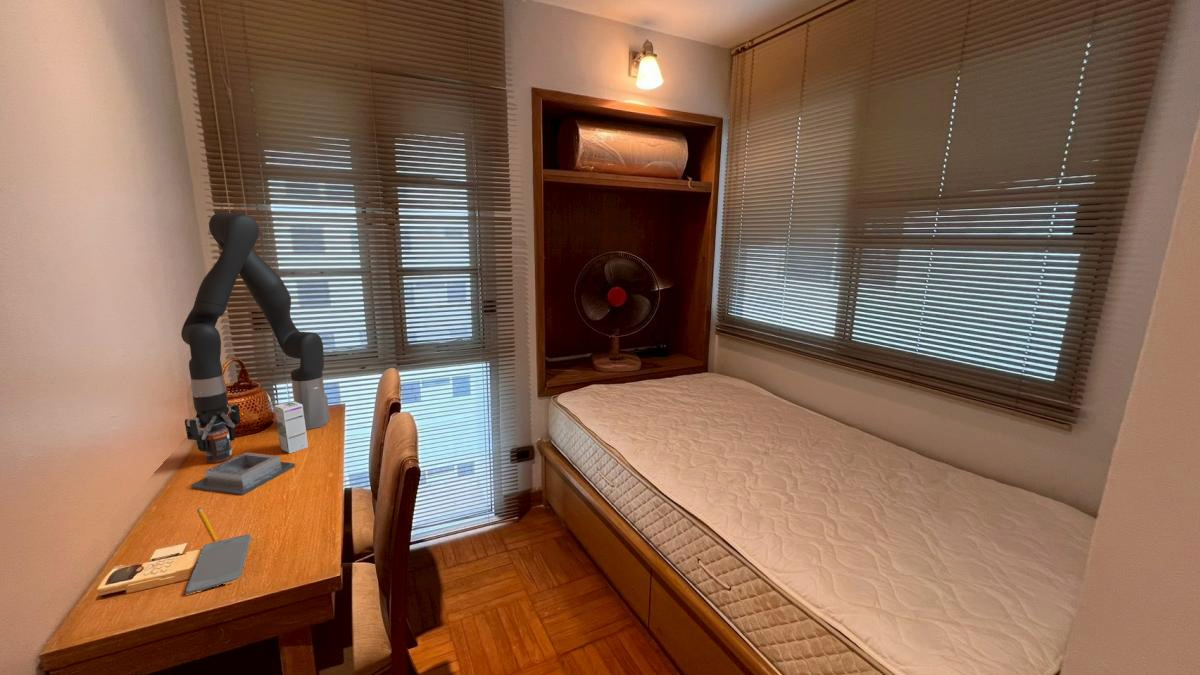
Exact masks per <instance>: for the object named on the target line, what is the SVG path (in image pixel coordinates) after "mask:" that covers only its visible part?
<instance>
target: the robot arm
mask: <svg viewBox="0 0 1200 675" xmlns="http://www.w3.org/2000/svg"><path fill="white" fill-rule="evenodd" d="M208 227H209V231H210V234H211V236H212V238H213V239H214V241H215V242H216V243H217V245H218V246H220V248H221V250H222V251H221V253H220V255H219V257H218V259H217V260H216V262H215V263H214V265H213V266H212V267H211V268H210V269H209V271H208V273H207V274H206V275H205V277H204V278H203V279H202V281H201V283H200V285H199V287H198V291H197V294H196V296H195V300H194V303H193V306H192V308H191V310H190V312H189V313H188V315H187V317H186V319H185V321H184V323H183V325H182V328H181V334H180V336H181V339H182V341H183V342H184V343H185V344H186V345H189V349H190V350H189V352H190V359H189V361H188V368H189V376H190V389H191V395H192V402H193V406H194V411H195V412H196V416H195V417H193V418H191V419H190V418H187V419H184V426H185V431H186V432H185V433H186V436H187V440H191V441H196V445H197V450H198V451H200V452H203V453H205V452H206V451H208V450H209V449H208V443H207V439H205V438H206V436H207V434H208V432H210V430H211V428H212V426H213V425H215V424H218V423H220V422H223V425H224V427H225V428H227V429H228V431H229V436H230V442H233V441H235V438H236V431H235V428H236V426H237V425H239V424H241V421H242V420H241V415H240V406H239V405H238V404H229V400H228V393H227V386H226V380H225V378H224V375H223V374H224V373H223V367H222V363H221V355H222V354H221V352H222V339H221V335H220V332H219V330H218V328H216V325H217V323H218V321H219V320H218V319H219V318H220V317H222V316H223V315H224V314H225V312H226V310H227V307H228V304H229V300H230V298H231V295H232V292H233V289H234V286H235V283H236V281H237V279H238V276H240V278H241V279H242V281H243V283H244V285H245V286H246V287H247V290H248V291H249V293H250V294H251V296H252V299H254V301H255V303H256V304H257V306H258V308H259V309H260V310H261V312H262V314H263V315H264V317H265V320H266V321H267V322H268V324H269V326H270V328H271V330H272V331H273V334H274V336H275V338H276V340H277V343H278V345H279V347H280V349H281V351H282V352H283V354H284V355H286V356H287V357H289V358H290V359H291V358H292V359H297V360H298V359H299V360H300V362H299V363H300V364H299V367H298V368H295V369H292V370H291V371H290V380H291V387H292V388H291V389H292V396H293V401H294V402H297V403H300V404H302V405H303V413H304V420H305V427H306V430H313V429H318V428H320V427H324V426H326V425H327V424H328V422H330V420H331V419H330V412H329V402H328V396H327V395H326V394H325V393H326V392H325V385H324V378H323V371H324V367H325V358H324V344H323V340H322V338H321V336H320V335H319V334H318V333H317V332H313V331H312V332H310V331H300V330H298V328H297V326H296V325H295V324H294V322H293V320H292V318H291V308H292V306H291V305H292V297H291V294H290V292H289V290H288V288H287V286H286V285H285V283H284V281H283V280H282V278H281V277H280V275H279V274H278V273H277V272H276V271H275V270H274V269H273V268H272V267H271V266H270V265H269V264H268V263H267V262H266V261H265V260H264V259H263V258H262V257H261V256H260V255H259V254H258V253H257V251H256V250H255V248H254V247H255V245H256V242H257V241H258V239H259V236H260V227H259V224H258V222H257V220H255V219H254V218H253V217H252V216H250V215H248V214H244V213H237V212H229V211H228V212H227V211H222V212H216V213H215V214H213V215H212V216H211V217H210V218H209V221H208ZM228 414H229V415H228Z"/></svg>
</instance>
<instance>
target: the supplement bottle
mask: <svg viewBox="0 0 1200 675" xmlns="http://www.w3.org/2000/svg"><path fill="white" fill-rule="evenodd" d="M205 439H207V443H208V449H209V450H208V451H206V452H204V453H205V458H206V462H207V463H208V464H217V463H224V462H226V461H228V460H230V459H232V457H233V451H232V444H231V441H230V436H229V431H228V429H227V428H226V427H225V426H224V425H223V422H220V423H218V424H215V425H213V426H212V428H211V430H210V432H208V434H207V436H206V438H205Z"/></svg>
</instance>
